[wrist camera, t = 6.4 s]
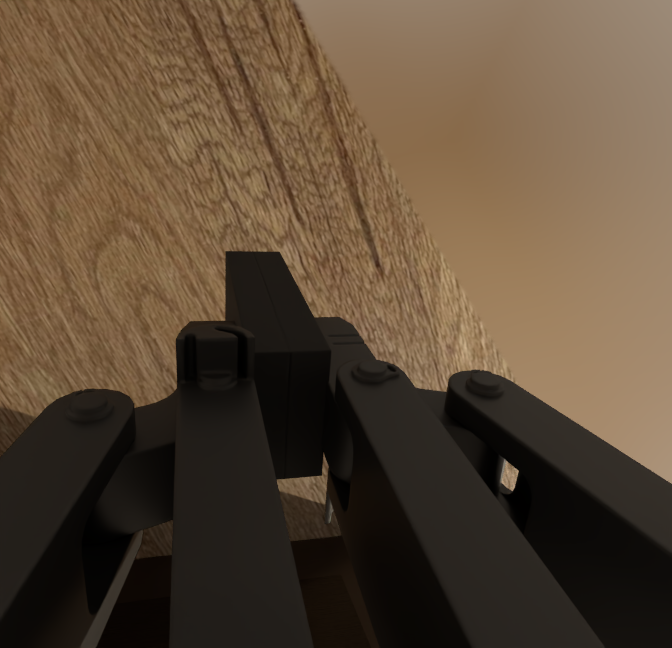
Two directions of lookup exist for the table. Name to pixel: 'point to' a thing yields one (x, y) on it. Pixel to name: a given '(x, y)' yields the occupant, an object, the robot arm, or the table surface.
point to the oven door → (315, 582)
